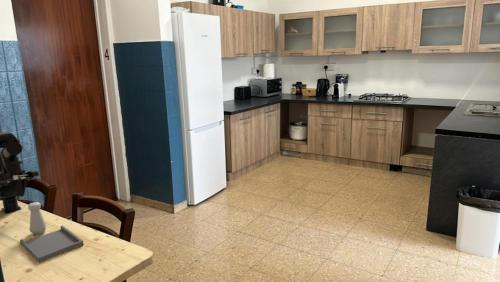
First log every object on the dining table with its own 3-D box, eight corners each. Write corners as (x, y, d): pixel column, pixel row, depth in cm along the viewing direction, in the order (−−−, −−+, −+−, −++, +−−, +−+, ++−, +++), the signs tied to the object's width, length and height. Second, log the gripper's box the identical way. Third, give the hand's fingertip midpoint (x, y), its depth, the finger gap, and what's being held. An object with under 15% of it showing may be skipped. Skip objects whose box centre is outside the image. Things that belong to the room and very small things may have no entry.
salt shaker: (31, 231, 149) (26, 201, 146) (47, 228, 151) (42, 199, 148) (29, 238, 144) (24, 207, 140) (46, 234, 146) (41, 204, 143)
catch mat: (20, 244, 139) (19, 239, 139) (63, 229, 150) (62, 225, 150) (39, 262, 127) (38, 258, 127) (83, 245, 138) (83, 240, 138)
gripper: (15, 166, 165) (25, 199, 164) (-25, 169, 147) (-13, 206, 146) (34, 158, 163) (45, 191, 162) (-4, 160, 145) (8, 197, 144)
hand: (22, 196), depth 153 cm, fingers closed
